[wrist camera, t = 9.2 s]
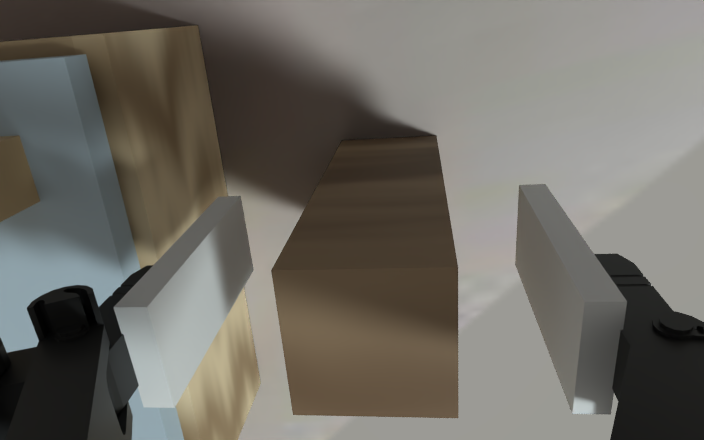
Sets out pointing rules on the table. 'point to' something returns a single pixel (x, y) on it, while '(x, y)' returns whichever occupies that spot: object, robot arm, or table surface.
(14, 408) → the robot arm
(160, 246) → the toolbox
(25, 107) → the lid
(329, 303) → the brown wooden block
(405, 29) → the table surface
